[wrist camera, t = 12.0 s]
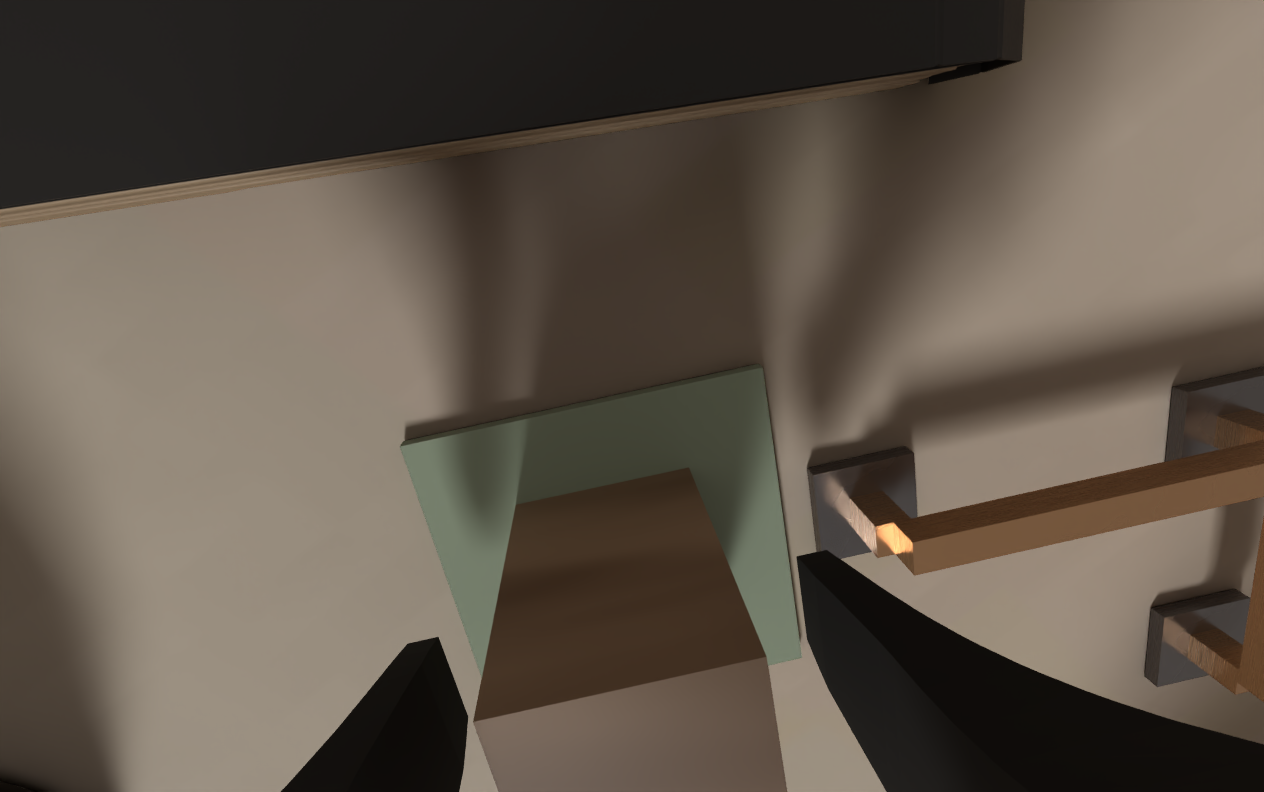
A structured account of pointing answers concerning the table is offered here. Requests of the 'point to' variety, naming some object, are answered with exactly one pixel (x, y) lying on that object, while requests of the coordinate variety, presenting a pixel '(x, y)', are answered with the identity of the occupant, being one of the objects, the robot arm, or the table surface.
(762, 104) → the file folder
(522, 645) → the block
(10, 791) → the supplement bottle
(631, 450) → the mat
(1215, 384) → the brown angled rail
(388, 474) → the table surface
